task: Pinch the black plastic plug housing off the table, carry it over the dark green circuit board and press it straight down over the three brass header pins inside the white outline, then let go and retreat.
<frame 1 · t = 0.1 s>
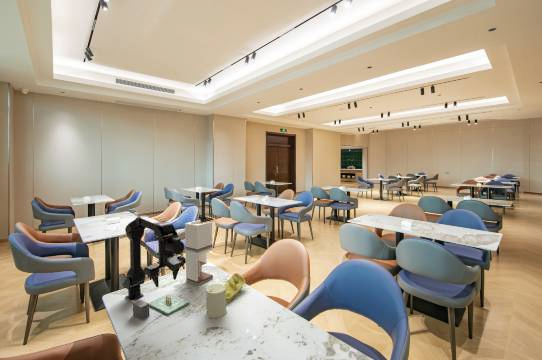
hand: (166, 283, 122), 14 cm above the table, fingers open, 9 cm apart
servo housing: (141, 316, 121), on the table
can: (216, 312, 124), on the table
pcb board: (168, 304, 131), on the table
plastic component: (229, 294, 142), on the table
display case: (199, 280, 159), on the table
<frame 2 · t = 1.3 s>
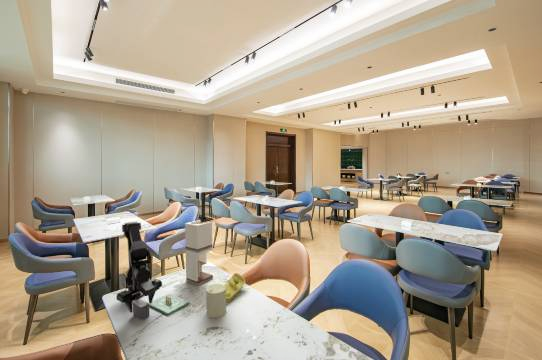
hand: (141, 307, 121), 4 cm above the table, fingers open, 9 cm apart
nothing on the table moved.
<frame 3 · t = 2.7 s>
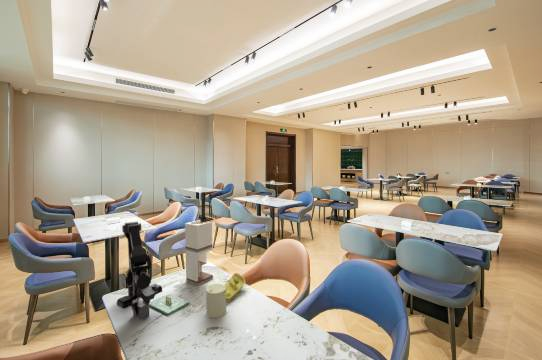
hand: (141, 313, 121), 1 cm above the table, fingers closed on servo housing, 4 cm apart
servo housing: (141, 316, 121), on the table, touching gripper
everything else where it was.
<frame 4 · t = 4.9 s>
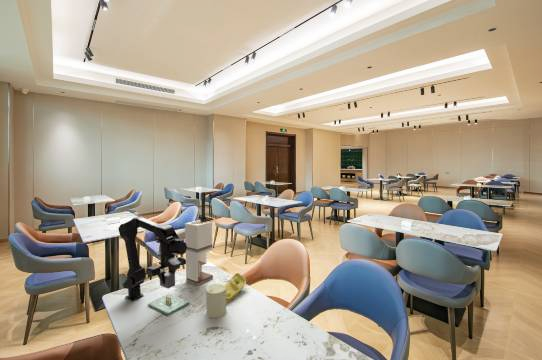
hand: (167, 282, 130), 11 cm above the table, fingers closed on servo housing, 4 cm apart
servo housing: (167, 285, 130), point 10 cm above the table, touching gripper
everything else where it was.
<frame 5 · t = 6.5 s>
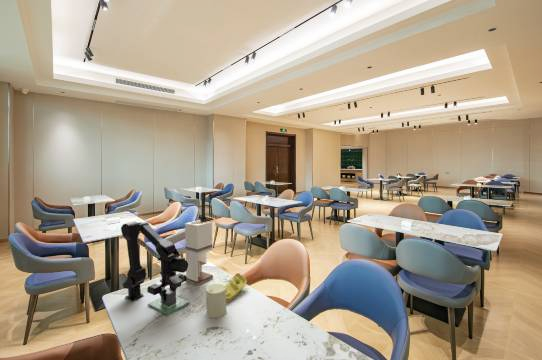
hand: (168, 300, 131), 2 cm above the table, fingers closed on servo housing, 4 cm apart
servo housing: (168, 302, 131), point 1 cm above the table, touching gripper, pcb board
everything else where it was.
when the fingers open (2 cm above the table, at t = 7.4 s): servo housing stays where it is, resting on pcb board.
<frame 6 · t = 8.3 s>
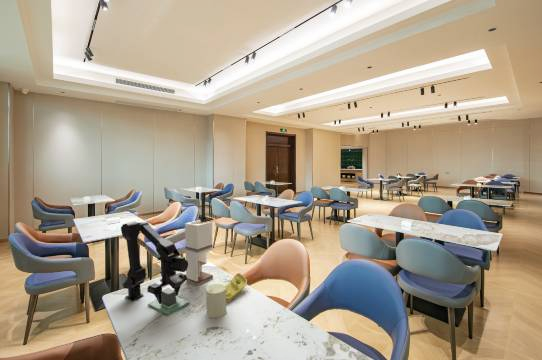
hand: (168, 299, 131), 3 cm above the table, fingers open, 9 cm apart
servo housing: (168, 302, 131), point 1 cm above the table, touching pcb board
everything else where it was.
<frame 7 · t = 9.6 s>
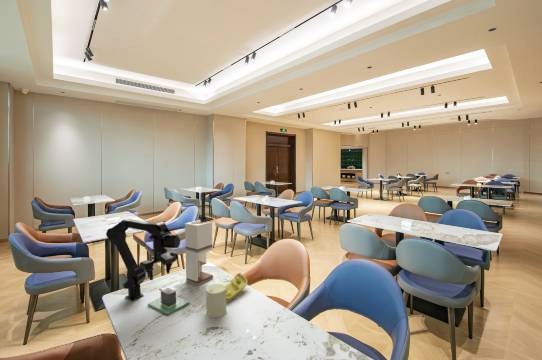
hand: (160, 276, 135), 12 cm above the table, fingers open, 9 cm apart
nothing on the table moved.
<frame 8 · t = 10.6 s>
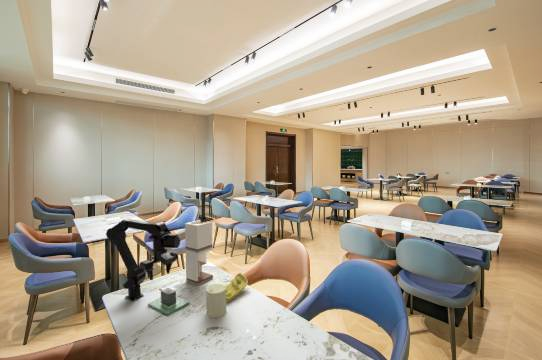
hand: (160, 276, 135), 12 cm above the table, fingers open, 9 cm apart
at the end: servo housing 0.0 cm off-centre on the pcb board, point 1.0 cm above the pcb board's base; servo housing tilted 0°; the gripper is holding nothing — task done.
